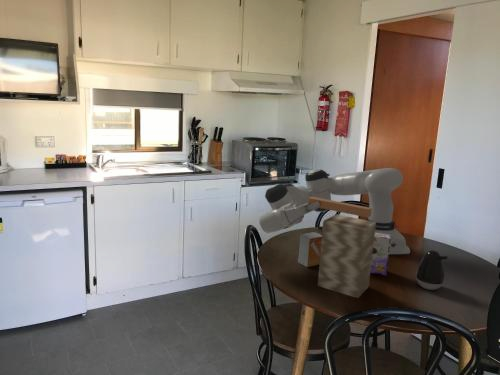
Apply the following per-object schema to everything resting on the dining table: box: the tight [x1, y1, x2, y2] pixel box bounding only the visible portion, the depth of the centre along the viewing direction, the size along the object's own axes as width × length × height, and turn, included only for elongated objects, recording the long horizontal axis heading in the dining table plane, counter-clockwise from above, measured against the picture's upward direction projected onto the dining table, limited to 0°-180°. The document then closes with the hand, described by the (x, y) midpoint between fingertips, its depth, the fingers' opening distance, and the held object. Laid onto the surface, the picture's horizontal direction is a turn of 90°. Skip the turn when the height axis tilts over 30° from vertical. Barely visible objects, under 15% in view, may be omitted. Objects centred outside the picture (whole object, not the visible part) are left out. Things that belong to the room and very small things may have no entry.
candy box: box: [370, 233, 391, 276], centre depth 177 cm, size 14×6×16 cm, turn 71°
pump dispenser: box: [415, 249, 449, 291], centre depth 164 cm, size 10×10×15 cm
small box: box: [297, 231, 322, 268], centre depth 182 cm, size 8×6×13 cm
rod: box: [308, 197, 372, 219], centre depth 159 cm, size 24×3×3 cm, turn 57°
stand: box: [317, 213, 376, 299], centre depth 160 cm, size 16×12×26 cm
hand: (322, 202), depth 162 cm, fingers closed on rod, 3 cm apart
